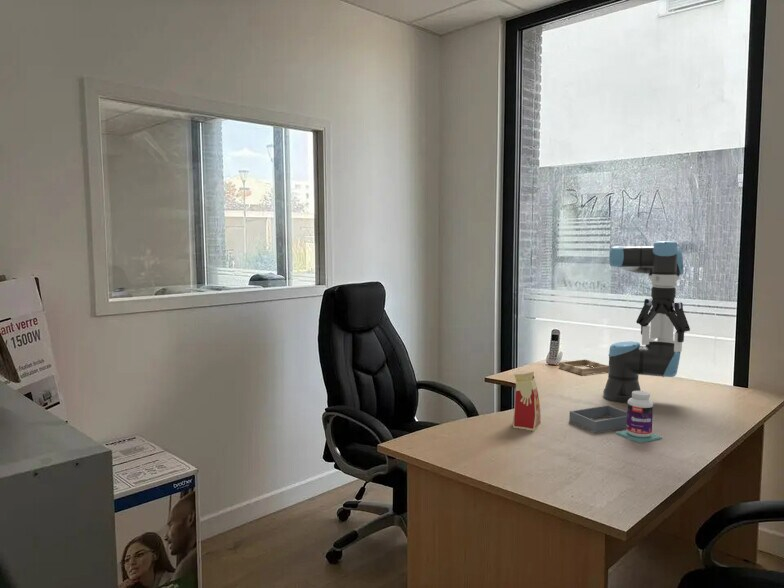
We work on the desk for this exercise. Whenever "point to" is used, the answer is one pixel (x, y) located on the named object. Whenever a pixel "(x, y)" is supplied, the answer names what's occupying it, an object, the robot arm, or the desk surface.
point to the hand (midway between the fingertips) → (661, 347)
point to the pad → (639, 439)
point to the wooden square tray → (571, 367)
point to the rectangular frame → (585, 421)
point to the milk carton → (526, 403)
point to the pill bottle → (639, 414)
